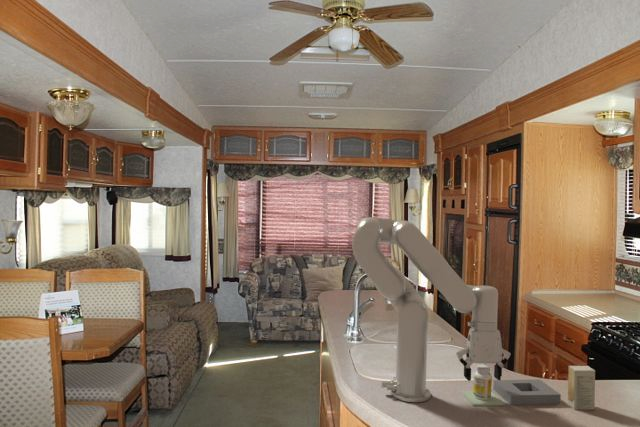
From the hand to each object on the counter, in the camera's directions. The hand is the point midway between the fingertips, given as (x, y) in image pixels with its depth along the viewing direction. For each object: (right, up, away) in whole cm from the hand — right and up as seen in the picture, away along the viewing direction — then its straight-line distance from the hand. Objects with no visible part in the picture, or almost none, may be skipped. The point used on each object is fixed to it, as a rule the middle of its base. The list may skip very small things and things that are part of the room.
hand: (482, 378), depth 151 cm
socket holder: (+15, -7, +3) cm, 16 cm away
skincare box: (+29, -7, -4) cm, 30 cm away
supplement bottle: (0, -6, 0) cm, 6 cm away
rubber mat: (0, -6, 0) cm, 6 cm away
